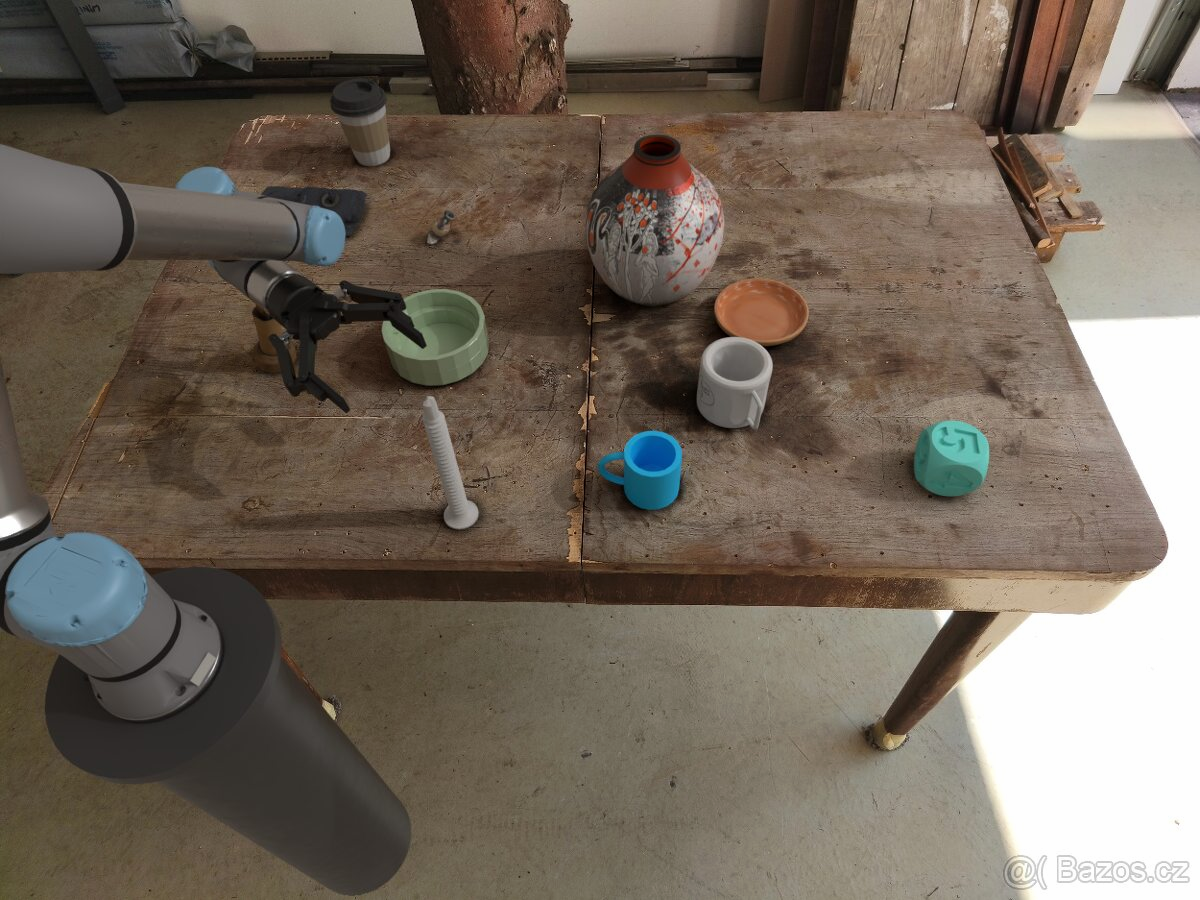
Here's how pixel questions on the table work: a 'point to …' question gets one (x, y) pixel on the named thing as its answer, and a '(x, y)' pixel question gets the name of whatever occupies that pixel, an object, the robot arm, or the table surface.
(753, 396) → the mug
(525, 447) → the table surface
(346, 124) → the coffee cup
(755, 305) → the saucer
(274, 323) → the mortar and pestle
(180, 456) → the table surface
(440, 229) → the vase
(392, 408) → the table surface
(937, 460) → the decorative dice
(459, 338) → the bowl
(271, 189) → the dark slate chunk
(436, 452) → the screw
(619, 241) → the vase
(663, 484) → the mug
